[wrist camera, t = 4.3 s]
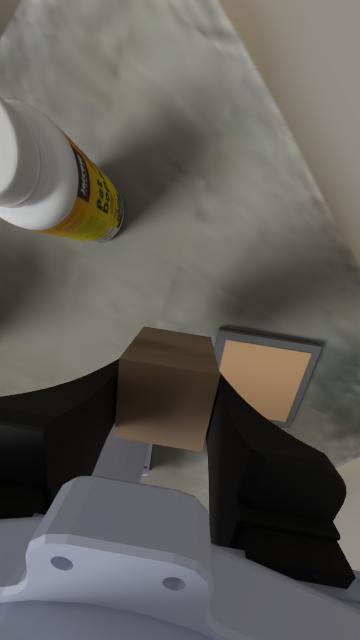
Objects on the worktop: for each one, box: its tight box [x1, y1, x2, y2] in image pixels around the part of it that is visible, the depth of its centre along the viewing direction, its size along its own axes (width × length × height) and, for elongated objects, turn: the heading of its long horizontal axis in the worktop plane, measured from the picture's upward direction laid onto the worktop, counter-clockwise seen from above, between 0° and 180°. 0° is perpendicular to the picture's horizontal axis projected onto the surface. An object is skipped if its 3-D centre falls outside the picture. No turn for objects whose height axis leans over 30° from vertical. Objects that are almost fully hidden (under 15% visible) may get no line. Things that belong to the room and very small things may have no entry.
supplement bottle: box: [0, 98, 124, 243], centre depth 12 cm, size 6×6×10 cm
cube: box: [114, 327, 220, 452], centre depth 11 cm, size 4×4×4 cm
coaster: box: [214, 328, 322, 428], centre depth 20 cm, size 10×10×1 cm
